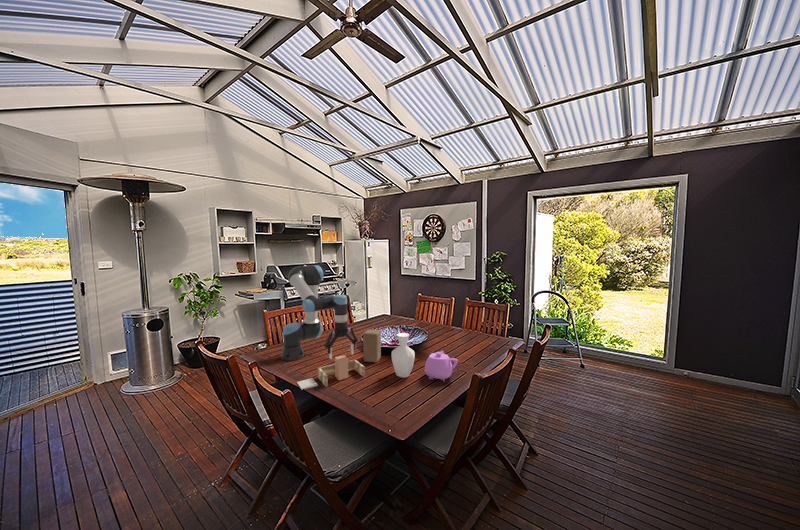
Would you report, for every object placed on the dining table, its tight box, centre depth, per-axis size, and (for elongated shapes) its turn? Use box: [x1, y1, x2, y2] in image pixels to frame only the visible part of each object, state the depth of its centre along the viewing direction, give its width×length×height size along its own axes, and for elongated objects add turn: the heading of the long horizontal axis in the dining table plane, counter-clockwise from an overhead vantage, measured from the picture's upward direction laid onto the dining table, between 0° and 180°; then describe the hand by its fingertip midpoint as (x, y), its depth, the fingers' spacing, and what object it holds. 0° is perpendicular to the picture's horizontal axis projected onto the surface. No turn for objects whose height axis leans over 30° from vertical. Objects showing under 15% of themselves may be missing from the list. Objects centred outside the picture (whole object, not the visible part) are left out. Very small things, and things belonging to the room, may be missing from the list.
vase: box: [391, 332, 416, 378], centre depth 183 cm, size 14×14×25 cm
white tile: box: [296, 377, 319, 391], centre depth 171 cm, size 10×9×1 cm
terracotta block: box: [334, 354, 349, 381], centre depth 180 cm, size 6×6×12 cm
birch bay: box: [317, 358, 366, 388], centre depth 180 cm, size 14×24×6 cm, turn 123°
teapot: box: [424, 350, 458, 381], centre depth 182 cm, size 20×20×15 cm
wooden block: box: [362, 328, 382, 363], centre depth 206 cm, size 10×10×20 cm
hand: (341, 356), depth 179 cm, fingers open, 13 cm apart
